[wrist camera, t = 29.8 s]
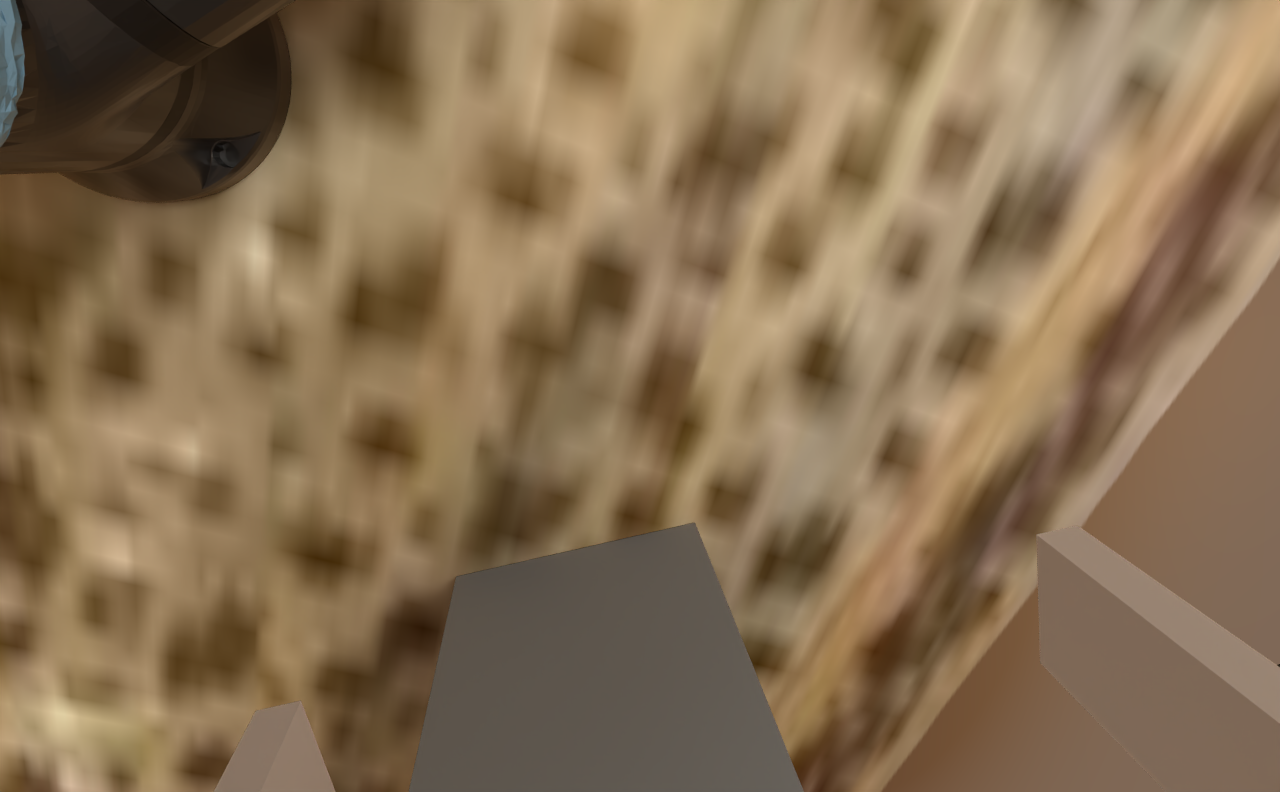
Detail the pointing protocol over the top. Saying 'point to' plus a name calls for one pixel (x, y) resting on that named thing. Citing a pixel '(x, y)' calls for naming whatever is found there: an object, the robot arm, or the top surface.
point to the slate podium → (599, 679)
